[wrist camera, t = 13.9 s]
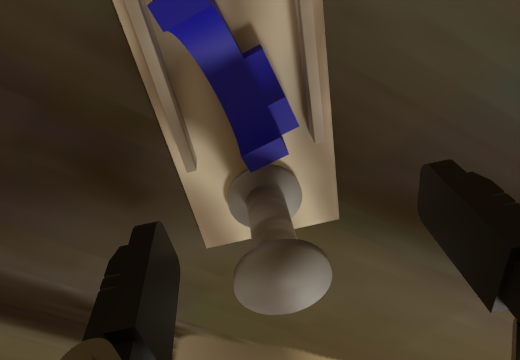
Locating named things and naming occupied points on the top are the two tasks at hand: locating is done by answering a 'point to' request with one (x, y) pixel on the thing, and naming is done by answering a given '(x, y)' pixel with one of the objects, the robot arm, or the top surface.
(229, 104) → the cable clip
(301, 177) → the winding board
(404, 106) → the top surface
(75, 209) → the top surface
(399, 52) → the top surface
